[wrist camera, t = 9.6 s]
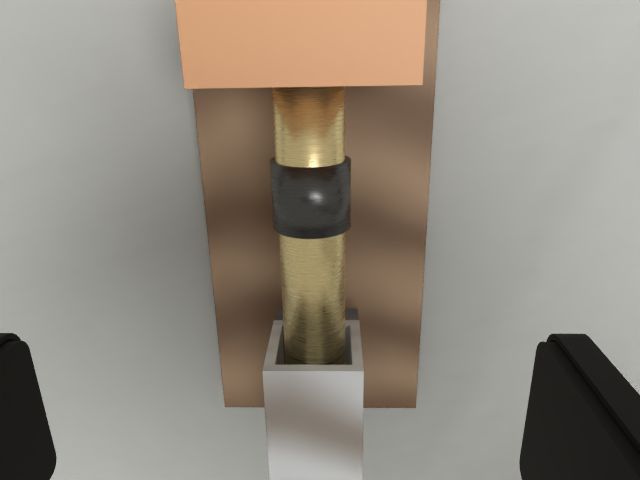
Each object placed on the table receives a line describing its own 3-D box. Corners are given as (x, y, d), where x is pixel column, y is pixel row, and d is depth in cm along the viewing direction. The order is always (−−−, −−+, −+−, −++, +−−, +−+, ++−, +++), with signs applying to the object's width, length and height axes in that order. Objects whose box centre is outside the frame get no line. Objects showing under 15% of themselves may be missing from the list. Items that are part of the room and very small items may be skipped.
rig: (412, 392, 33) (435, 497, 26) (229, 392, 34) (198, 495, 26) (435, -17, 25) (481, -45, 17) (191, -11, 25) (127, -36, 18)
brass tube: (349, 346, 27) (350, 387, 24) (284, 346, 28) (277, 387, 24) (350, 9, 22) (353, 2, 18) (267, 11, 22) (255, 4, 18)
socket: (394, 72, 25) (422, 85, 17) (231, 75, 25) (184, 88, 17) (397, -15, 24) (429, -45, 16) (225, -11, 24) (171, -38, 16)
